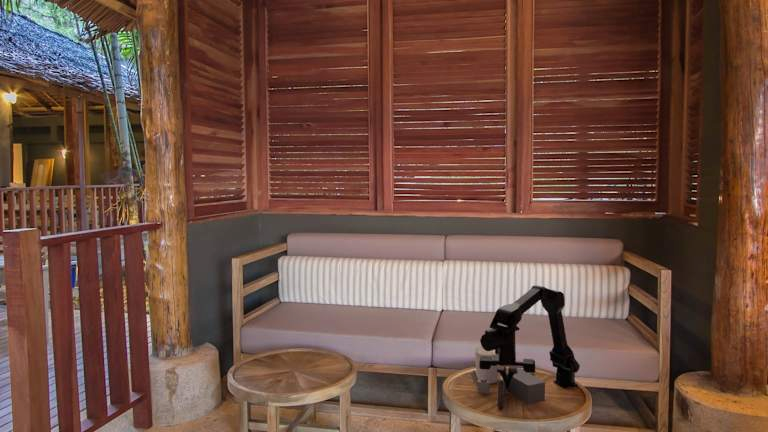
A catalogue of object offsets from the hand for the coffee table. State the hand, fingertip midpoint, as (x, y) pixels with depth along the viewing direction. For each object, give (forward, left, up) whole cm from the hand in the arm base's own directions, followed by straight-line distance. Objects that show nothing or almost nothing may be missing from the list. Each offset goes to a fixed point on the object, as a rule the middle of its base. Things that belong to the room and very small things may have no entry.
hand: (507, 387), depth 182 cm
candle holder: (-8, -24, -8) cm, 27 cm away
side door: (-3, -7, -7) cm, 11 cm away
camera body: (-13, -7, -8) cm, 16 cm away
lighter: (+1, -16, -8) cm, 18 cm away
